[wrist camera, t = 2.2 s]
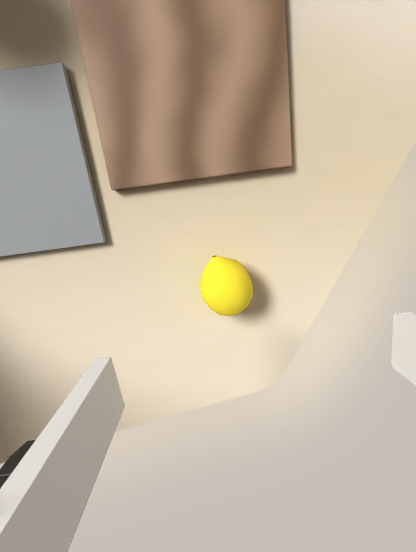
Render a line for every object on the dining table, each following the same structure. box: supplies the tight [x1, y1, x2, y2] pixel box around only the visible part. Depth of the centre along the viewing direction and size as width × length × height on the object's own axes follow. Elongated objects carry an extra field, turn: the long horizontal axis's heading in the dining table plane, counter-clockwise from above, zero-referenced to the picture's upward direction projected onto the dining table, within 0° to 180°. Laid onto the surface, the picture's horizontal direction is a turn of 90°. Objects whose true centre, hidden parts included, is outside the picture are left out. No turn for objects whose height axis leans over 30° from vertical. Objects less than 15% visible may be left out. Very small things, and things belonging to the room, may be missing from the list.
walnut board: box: [70, 0, 292, 190], centre depth 22 cm, size 18×18×1 cm
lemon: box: [200, 256, 253, 316], centre depth 25 cm, size 7×5×5 cm
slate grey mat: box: [0, 62, 107, 256], centre depth 24 cm, size 16×16×1 cm
